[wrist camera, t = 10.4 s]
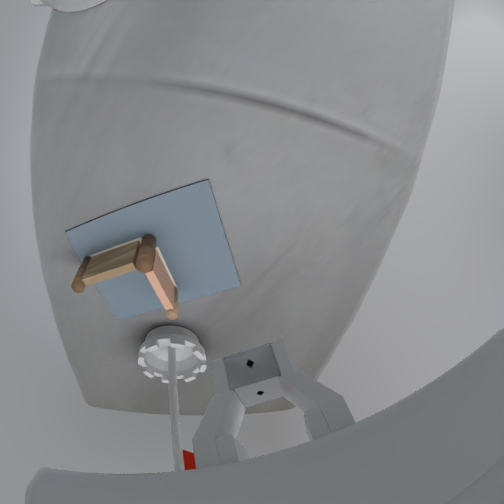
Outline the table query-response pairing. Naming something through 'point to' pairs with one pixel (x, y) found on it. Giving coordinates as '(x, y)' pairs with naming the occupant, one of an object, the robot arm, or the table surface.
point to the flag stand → (173, 374)
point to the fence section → (163, 287)
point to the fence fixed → (116, 263)
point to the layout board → (162, 248)
